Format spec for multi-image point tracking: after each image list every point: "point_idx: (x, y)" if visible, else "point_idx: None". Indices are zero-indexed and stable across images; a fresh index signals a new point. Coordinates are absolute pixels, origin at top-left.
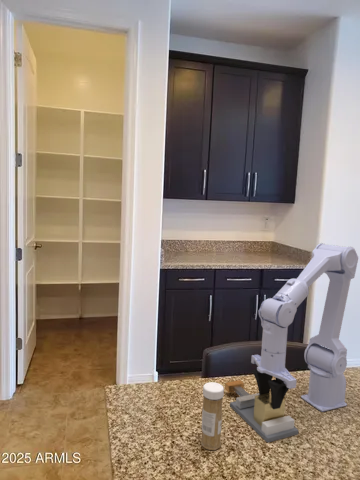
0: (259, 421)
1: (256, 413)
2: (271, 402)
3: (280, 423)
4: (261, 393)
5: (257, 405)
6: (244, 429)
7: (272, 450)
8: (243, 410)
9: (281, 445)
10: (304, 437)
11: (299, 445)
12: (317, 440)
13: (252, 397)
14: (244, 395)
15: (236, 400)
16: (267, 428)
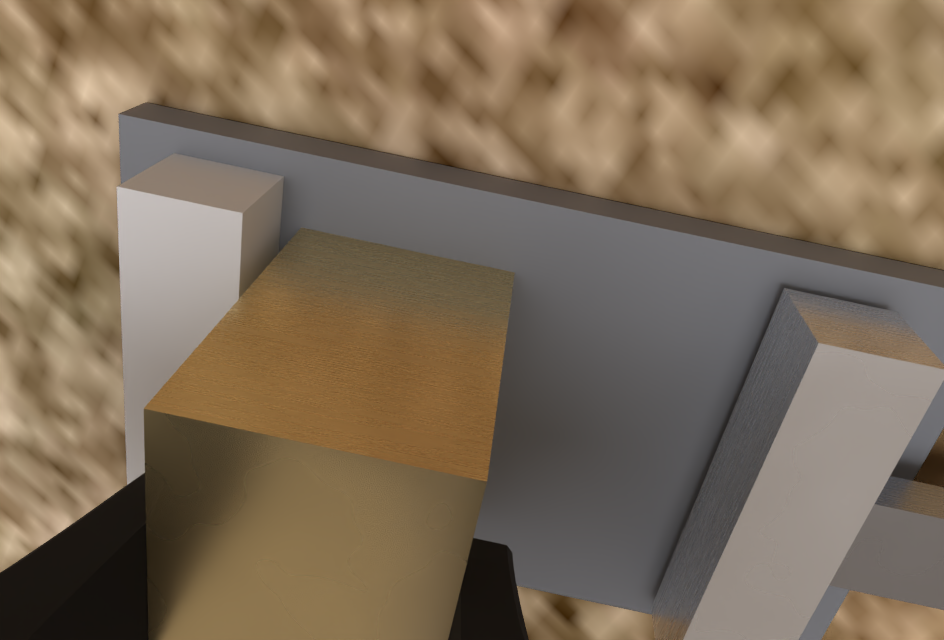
0: (381, 263)
1: (446, 311)
2: (128, 530)
3: (130, 393)
4: (459, 619)
5: (409, 376)
6: (481, 51)
7: (12, 42)
8: (739, 312)
9: (58, 204)
10: (95, 479)
11: (8, 352)
12: (26, 526)
13: (762, 552)
14: (903, 523)
15: (917, 345)
16: (129, 185)
